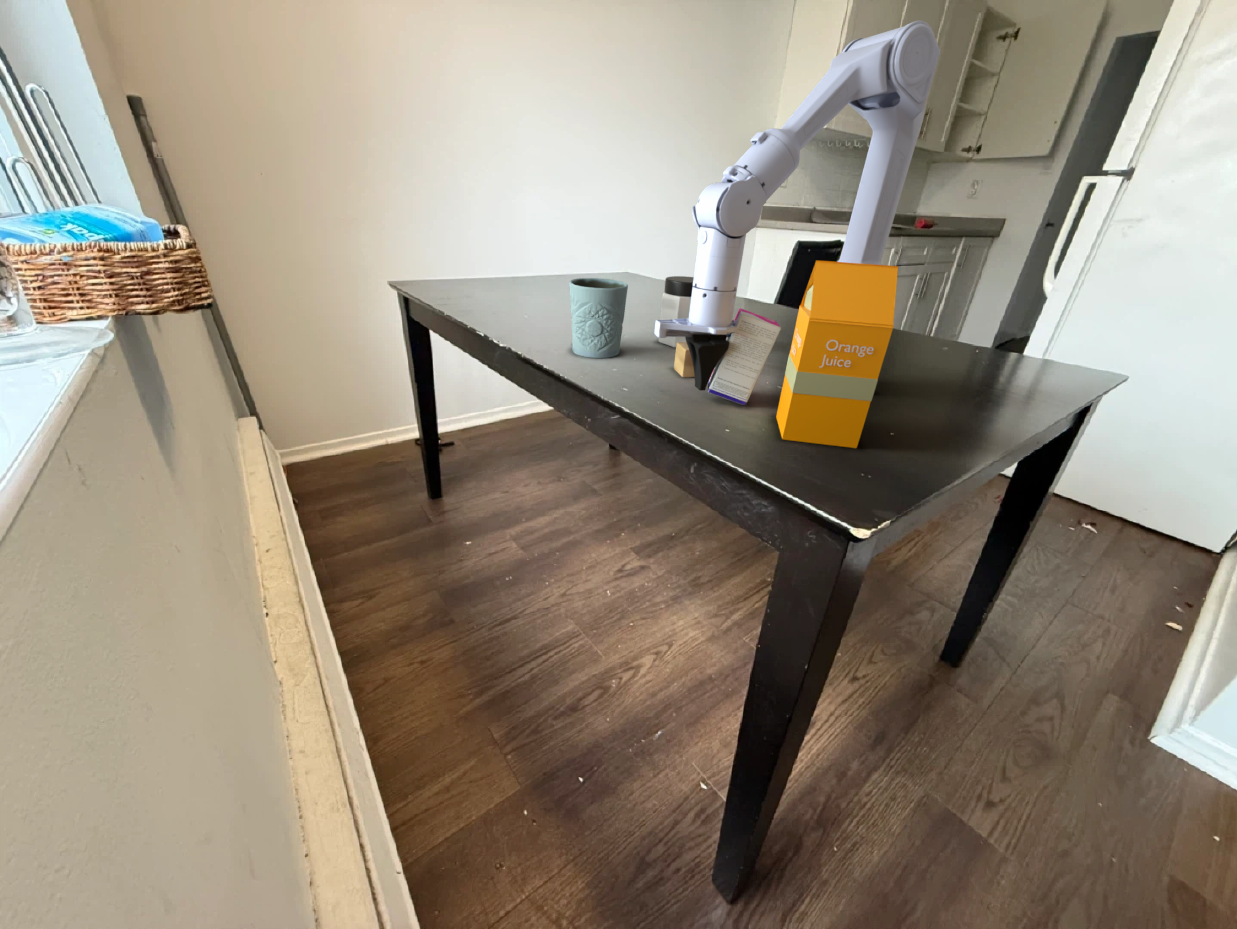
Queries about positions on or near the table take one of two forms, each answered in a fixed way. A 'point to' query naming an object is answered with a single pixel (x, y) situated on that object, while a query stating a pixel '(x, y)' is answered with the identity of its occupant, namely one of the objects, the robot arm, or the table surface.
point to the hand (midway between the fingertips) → (700, 388)
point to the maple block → (683, 360)
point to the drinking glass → (597, 316)
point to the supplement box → (744, 357)
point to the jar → (676, 303)
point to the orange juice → (837, 352)
